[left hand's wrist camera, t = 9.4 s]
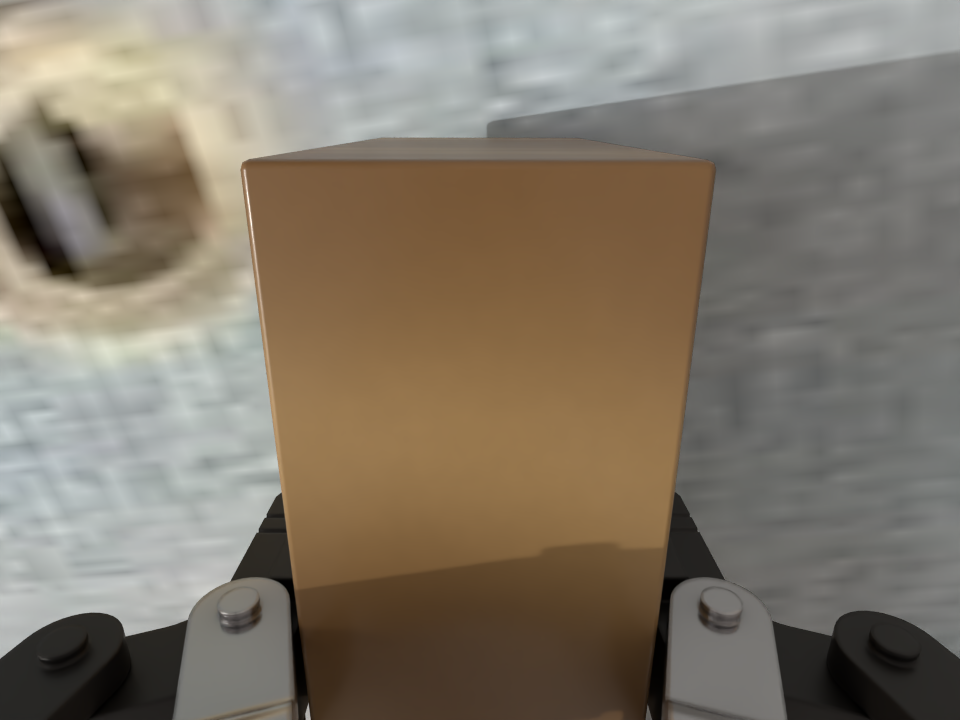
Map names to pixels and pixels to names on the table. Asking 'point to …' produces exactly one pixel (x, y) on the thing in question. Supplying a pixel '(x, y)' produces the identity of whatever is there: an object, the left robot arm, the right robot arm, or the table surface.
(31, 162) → the table surface
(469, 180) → the post
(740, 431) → the table surface
